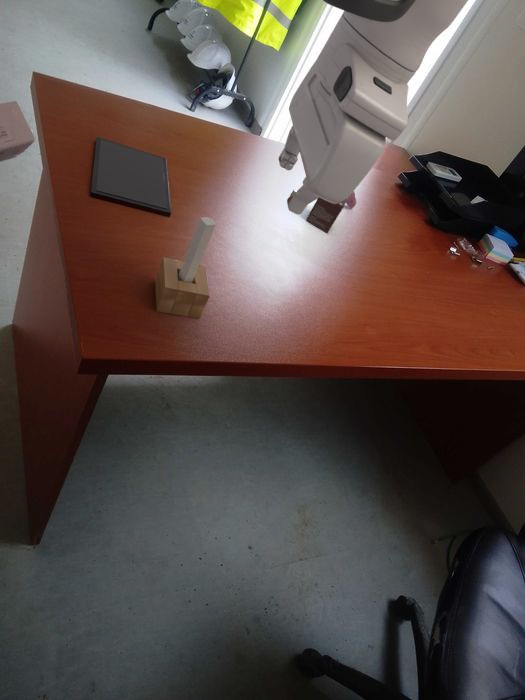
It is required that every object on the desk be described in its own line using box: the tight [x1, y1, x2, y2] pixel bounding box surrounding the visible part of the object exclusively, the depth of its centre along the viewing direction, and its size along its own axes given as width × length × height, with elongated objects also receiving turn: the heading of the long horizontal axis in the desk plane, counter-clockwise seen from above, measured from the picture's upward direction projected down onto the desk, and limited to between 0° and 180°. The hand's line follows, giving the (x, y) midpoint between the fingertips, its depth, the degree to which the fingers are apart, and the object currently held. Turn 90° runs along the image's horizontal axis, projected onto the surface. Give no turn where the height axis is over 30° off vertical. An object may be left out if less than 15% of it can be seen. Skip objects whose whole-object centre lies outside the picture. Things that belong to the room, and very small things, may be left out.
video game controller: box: [345, 190, 357, 209], centre depth 120 cm, size 10×5×7 cm
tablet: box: [89, 136, 172, 218], centre depth 87 cm, size 20×14×1 cm
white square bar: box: [178, 216, 216, 283], centre depth 66 cm, size 2×2×15 cm
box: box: [306, 197, 347, 234], centre depth 106 cm, size 6×6×7 cm
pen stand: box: [154, 256, 211, 319], centre depth 69 cm, size 7×7×5 cm
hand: (287, 186), depth 54 cm, fingers open, 8 cm apart
